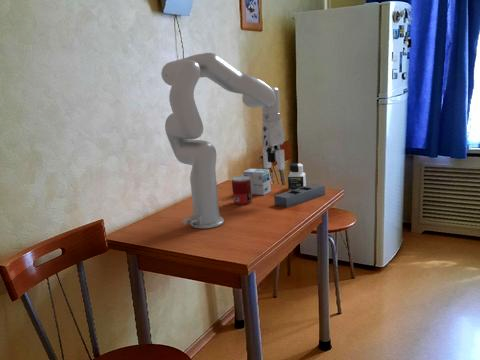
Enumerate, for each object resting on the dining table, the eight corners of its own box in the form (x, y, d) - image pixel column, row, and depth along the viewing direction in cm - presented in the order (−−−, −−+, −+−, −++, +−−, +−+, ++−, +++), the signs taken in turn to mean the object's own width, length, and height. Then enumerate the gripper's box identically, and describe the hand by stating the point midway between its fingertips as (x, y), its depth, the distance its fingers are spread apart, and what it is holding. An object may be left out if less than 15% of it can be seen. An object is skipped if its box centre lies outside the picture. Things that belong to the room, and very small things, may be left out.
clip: (285, 168, 184) (284, 149, 183) (280, 169, 182) (279, 151, 180) (268, 166, 190) (266, 148, 188) (263, 168, 188) (262, 149, 186)
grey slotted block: (286, 207, 177) (286, 198, 176) (274, 204, 182) (274, 195, 182) (325, 194, 192) (324, 185, 191) (312, 192, 197) (312, 183, 196)
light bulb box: (271, 191, 203) (269, 169, 201) (264, 195, 198) (262, 172, 195) (251, 190, 209) (250, 168, 207) (244, 193, 204) (242, 171, 201)
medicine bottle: (288, 191, 202) (287, 165, 199) (291, 187, 209) (289, 162, 206) (303, 191, 200) (302, 165, 197) (306, 187, 207) (305, 162, 204)
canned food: (252, 204, 185) (250, 179, 183) (233, 206, 185) (231, 180, 183) (252, 199, 193) (250, 175, 190) (233, 200, 193) (231, 176, 190)
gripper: (266, 120, 173) (269, 165, 177) (290, 115, 185) (292, 158, 189) (252, 120, 178) (255, 164, 182) (275, 115, 190) (278, 157, 194)
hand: (274, 160), depth 186 cm, fingers closed on clip, 3 cm apart
